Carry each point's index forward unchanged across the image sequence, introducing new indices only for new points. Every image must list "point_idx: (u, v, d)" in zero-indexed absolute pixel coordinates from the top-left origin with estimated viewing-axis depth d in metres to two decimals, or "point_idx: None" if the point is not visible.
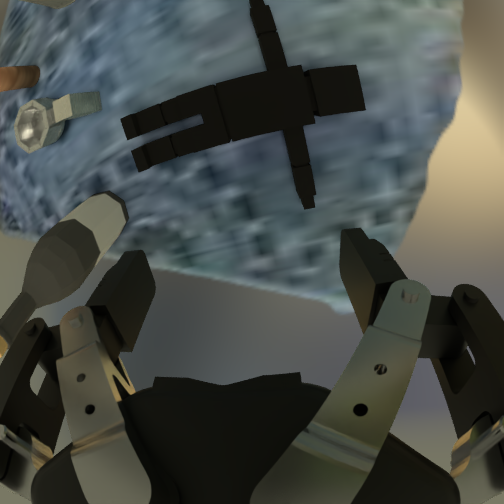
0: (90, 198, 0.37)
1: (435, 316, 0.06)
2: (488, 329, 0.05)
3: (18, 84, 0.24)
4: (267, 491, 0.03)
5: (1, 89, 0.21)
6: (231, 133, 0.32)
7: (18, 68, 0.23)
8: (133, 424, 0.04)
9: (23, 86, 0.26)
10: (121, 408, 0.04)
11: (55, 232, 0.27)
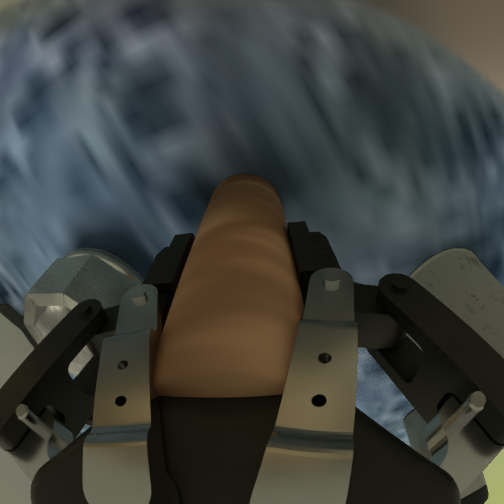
0: (20, 341, 0.20)
1: (359, 304, 0.07)
2: (427, 314, 0.06)
3: None
4: (267, 491, 0.03)
5: None
6: None
7: None
8: (162, 426, 0.04)
9: None
10: (154, 408, 0.04)
11: None
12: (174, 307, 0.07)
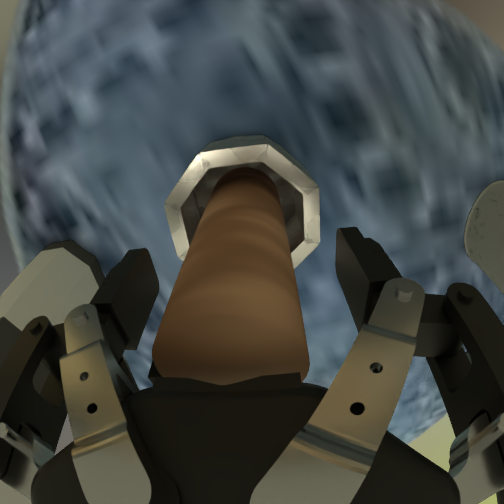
0: (87, 279, 0.21)
1: (430, 314, 0.06)
2: (483, 327, 0.05)
3: None
4: (267, 491, 0.03)
5: None
6: None
7: None
8: (135, 424, 0.04)
9: None
10: (124, 408, 0.04)
11: None
12: (181, 273, 0.08)
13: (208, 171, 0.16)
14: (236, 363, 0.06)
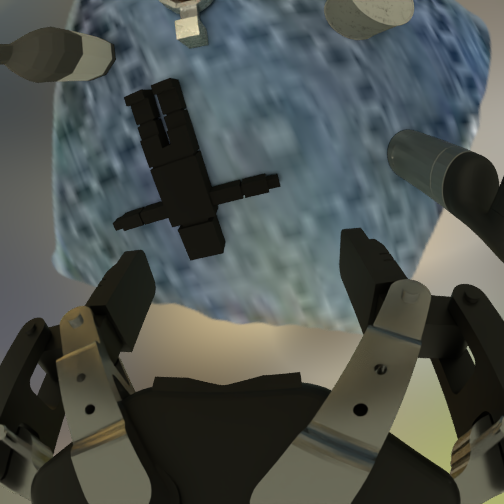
0: (108, 46, 0.31)
1: (435, 316, 0.06)
2: (488, 329, 0.05)
3: None
4: (267, 491, 0.03)
5: None
6: (156, 169, 0.41)
7: None
8: (133, 424, 0.04)
9: None
10: (121, 408, 0.04)
11: (68, 47, 0.21)
12: None
13: None
14: None
